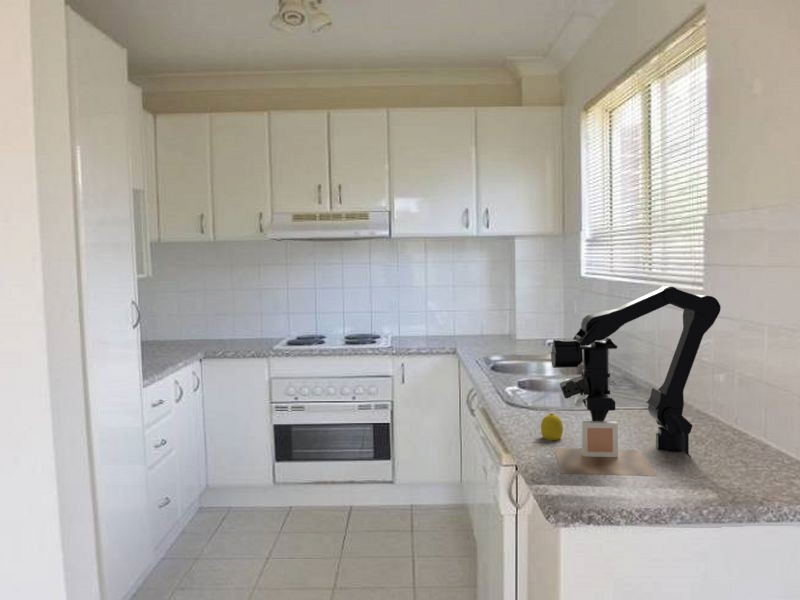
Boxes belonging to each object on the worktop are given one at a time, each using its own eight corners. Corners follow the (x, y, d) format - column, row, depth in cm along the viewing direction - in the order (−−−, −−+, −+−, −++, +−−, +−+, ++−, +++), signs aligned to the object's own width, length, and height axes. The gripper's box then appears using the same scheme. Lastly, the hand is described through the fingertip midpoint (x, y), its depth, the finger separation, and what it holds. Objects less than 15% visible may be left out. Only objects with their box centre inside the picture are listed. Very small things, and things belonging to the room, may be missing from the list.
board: (640, 456, 152) (640, 450, 152) (657, 482, 134) (657, 475, 134) (554, 454, 155) (554, 448, 155) (560, 480, 138) (560, 473, 138)
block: (616, 454, 149) (616, 421, 148) (618, 457, 147) (617, 423, 147) (581, 454, 150) (581, 420, 150) (582, 456, 148) (582, 422, 148)
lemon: (547, 447, 161) (547, 416, 160) (537, 441, 166) (536, 411, 166) (567, 445, 162) (566, 414, 162) (556, 439, 168) (555, 409, 167)
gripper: (558, 360, 163) (559, 420, 164) (564, 374, 144) (565, 441, 146) (603, 360, 161) (604, 421, 162) (615, 374, 143) (616, 442, 144)
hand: (596, 430), depth 153 cm, fingers closed
